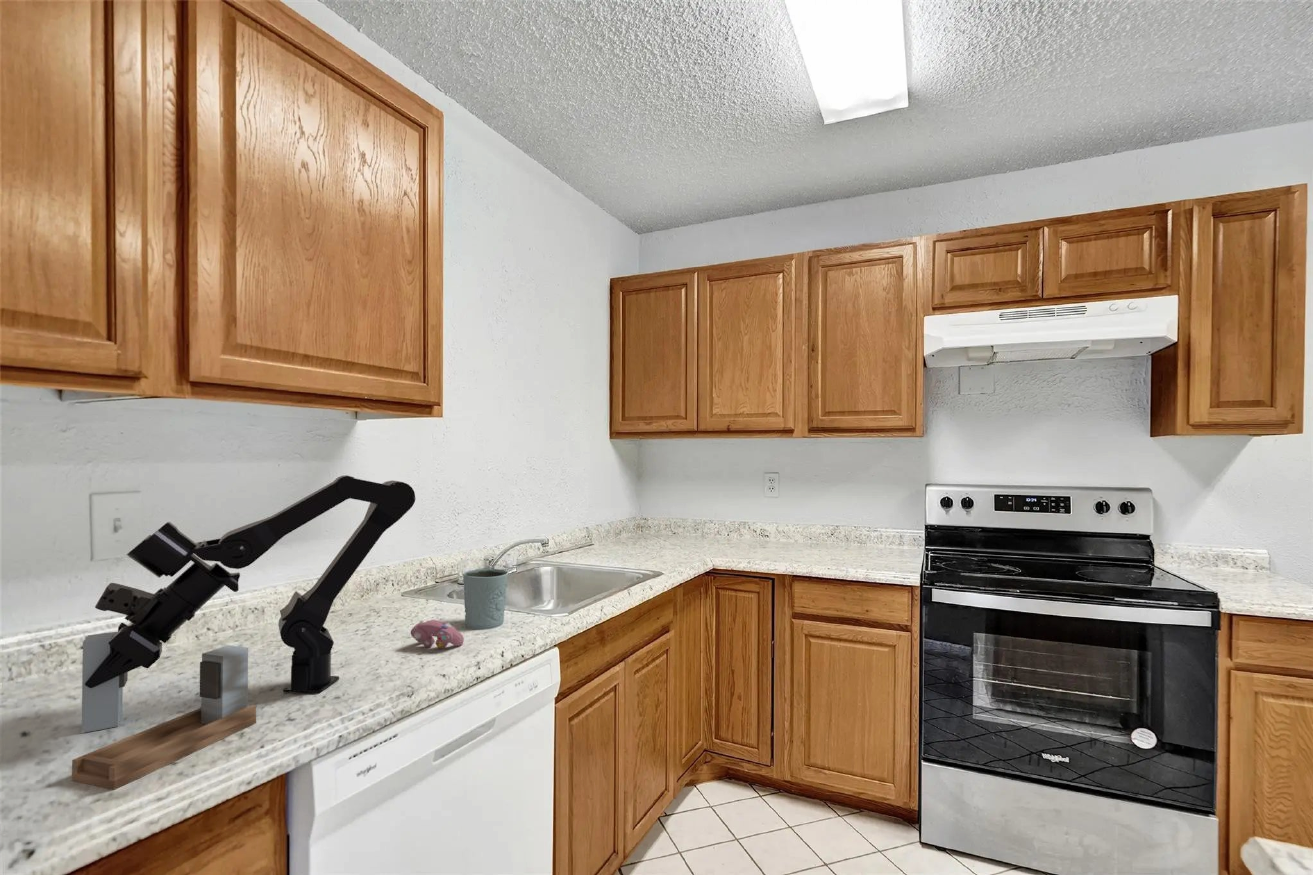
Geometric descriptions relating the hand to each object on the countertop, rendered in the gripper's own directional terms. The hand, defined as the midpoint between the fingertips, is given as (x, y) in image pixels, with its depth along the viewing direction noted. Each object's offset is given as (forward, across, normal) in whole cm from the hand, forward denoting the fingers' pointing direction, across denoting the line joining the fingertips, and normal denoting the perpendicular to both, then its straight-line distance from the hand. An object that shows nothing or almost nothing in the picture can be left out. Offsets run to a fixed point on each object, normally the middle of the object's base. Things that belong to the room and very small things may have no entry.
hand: (90, 681), depth 92 cm
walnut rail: (-3, +15, +12) cm, 20 cm away
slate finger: (+4, 0, +6) cm, 7 cm away
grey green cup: (-42, -21, +52) cm, 70 cm away
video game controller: (-32, -10, +42) cm, 54 cm away
